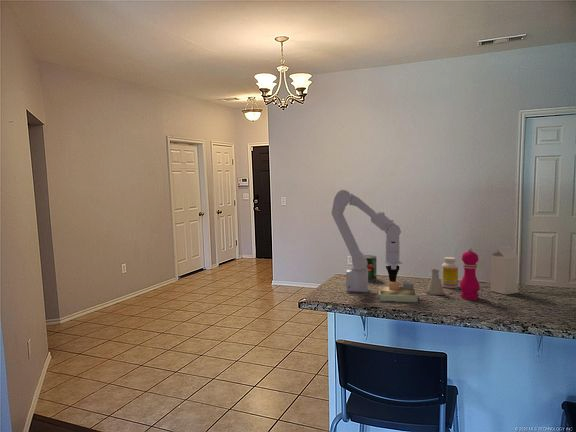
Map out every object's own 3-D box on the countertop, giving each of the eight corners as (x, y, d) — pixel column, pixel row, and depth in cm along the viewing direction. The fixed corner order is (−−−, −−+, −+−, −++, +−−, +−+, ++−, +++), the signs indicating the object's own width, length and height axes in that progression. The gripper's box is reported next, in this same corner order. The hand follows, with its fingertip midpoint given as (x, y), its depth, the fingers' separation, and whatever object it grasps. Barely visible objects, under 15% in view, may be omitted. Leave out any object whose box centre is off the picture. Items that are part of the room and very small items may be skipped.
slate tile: (403, 290, 167) (403, 284, 167) (402, 287, 171) (402, 281, 171) (413, 290, 166) (413, 284, 166) (412, 288, 170) (412, 282, 170)
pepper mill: (481, 300, 159) (482, 249, 157) (461, 299, 160) (462, 248, 159) (477, 295, 166) (477, 246, 164) (457, 295, 167) (458, 246, 166)
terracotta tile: (389, 289, 168) (389, 283, 168) (388, 287, 172) (388, 281, 172) (399, 290, 167) (399, 283, 167) (398, 287, 171) (398, 281, 171)
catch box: (379, 301, 160) (379, 294, 160) (378, 297, 166) (378, 291, 166) (418, 302, 158) (418, 296, 158) (416, 298, 164) (416, 292, 163)
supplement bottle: (460, 288, 178) (460, 259, 177) (444, 288, 178) (444, 259, 177) (454, 284, 185) (454, 256, 184) (439, 285, 185) (439, 256, 184)
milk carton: (517, 293, 169) (518, 247, 168) (504, 295, 166) (505, 248, 165) (502, 289, 176) (503, 245, 174) (490, 291, 173) (491, 246, 172)
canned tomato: (361, 280, 196) (361, 257, 195) (358, 277, 204) (358, 255, 203) (378, 280, 195) (377, 257, 195) (375, 277, 203) (375, 255, 203)
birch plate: (379, 297, 166) (379, 290, 166) (378, 292, 174) (378, 286, 174) (415, 298, 164) (415, 291, 164) (412, 293, 172) (412, 287, 172)
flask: (447, 295, 167) (447, 271, 167) (429, 295, 168) (429, 271, 167) (440, 291, 175) (441, 267, 174) (423, 291, 175) (423, 267, 174)
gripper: (403, 254, 168) (403, 287, 169) (400, 249, 182) (400, 279, 183) (386, 254, 169) (386, 286, 170) (384, 248, 184) (384, 278, 185)
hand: (392, 282), depth 177 cm, fingers closed
